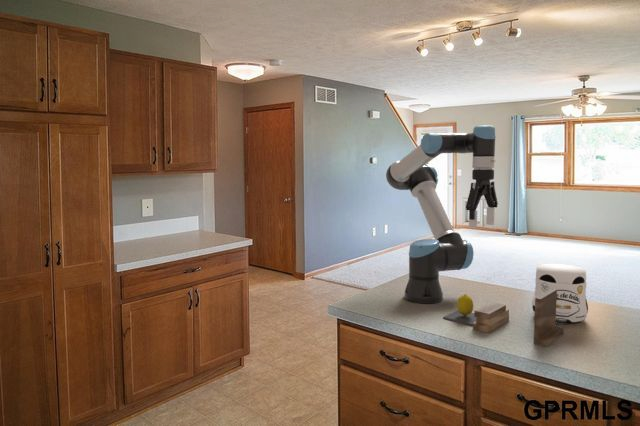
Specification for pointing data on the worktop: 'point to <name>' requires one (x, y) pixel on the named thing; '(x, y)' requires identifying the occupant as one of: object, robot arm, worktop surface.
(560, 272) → the milk container
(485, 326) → the wooden blocks
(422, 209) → the robot arm
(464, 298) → the lemon
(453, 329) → the worktop surface
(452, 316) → the rubber mat
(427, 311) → the worktop surface
